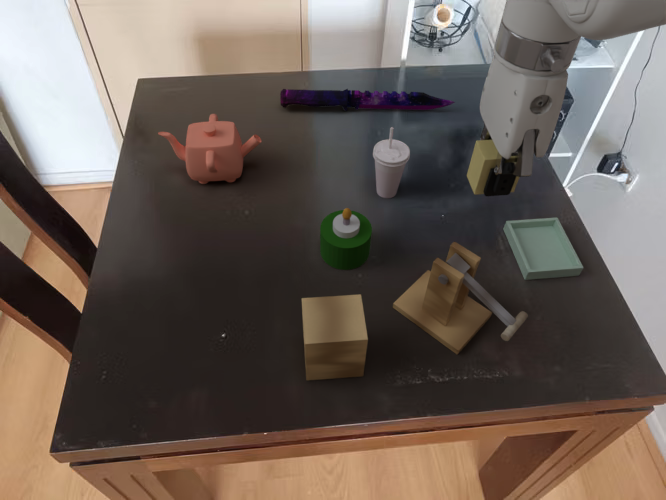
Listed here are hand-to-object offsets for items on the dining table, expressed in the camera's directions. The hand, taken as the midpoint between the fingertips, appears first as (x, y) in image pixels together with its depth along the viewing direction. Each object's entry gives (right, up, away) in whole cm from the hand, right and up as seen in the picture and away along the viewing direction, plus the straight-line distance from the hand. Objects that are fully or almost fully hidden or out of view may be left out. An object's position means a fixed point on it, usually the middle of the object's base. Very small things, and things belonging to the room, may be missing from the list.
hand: (491, 180), depth 66 cm
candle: (-17, -9, +24) cm, 31 cm away
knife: (-12, +21, +50) cm, 55 cm away
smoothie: (-10, +2, +34) cm, 35 cm away
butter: (0, 0, 0) cm, 0 cm away
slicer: (-3, -18, +16) cm, 25 cm away
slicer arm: (+1, -15, +8) cm, 17 cm away
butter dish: (+15, -9, +25) cm, 30 cm away
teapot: (-42, +6, +36) cm, 56 cm away
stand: (-20, -24, +11) cm, 33 cm away
